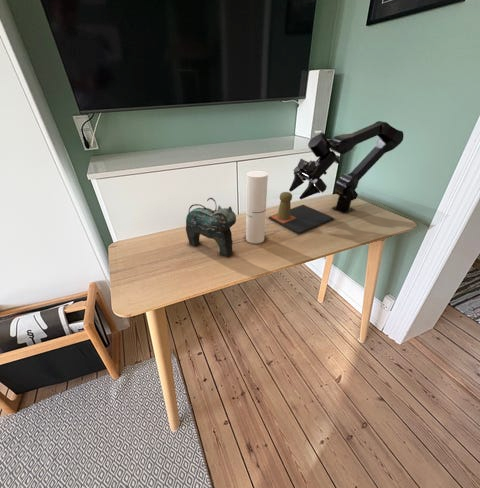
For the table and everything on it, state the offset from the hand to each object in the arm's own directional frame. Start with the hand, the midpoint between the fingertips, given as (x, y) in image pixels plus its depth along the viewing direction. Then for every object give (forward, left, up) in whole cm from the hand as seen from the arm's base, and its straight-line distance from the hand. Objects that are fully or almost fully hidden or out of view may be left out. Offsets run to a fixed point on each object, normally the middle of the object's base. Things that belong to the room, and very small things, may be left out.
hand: (294, 194), depth 109 cm
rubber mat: (-2, +3, -11) cm, 11 cm away
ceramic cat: (+43, 0, -11) cm, 44 cm away
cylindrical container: (+25, +4, -11) cm, 27 cm away
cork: (+4, -1, -10) cm, 11 cm away
